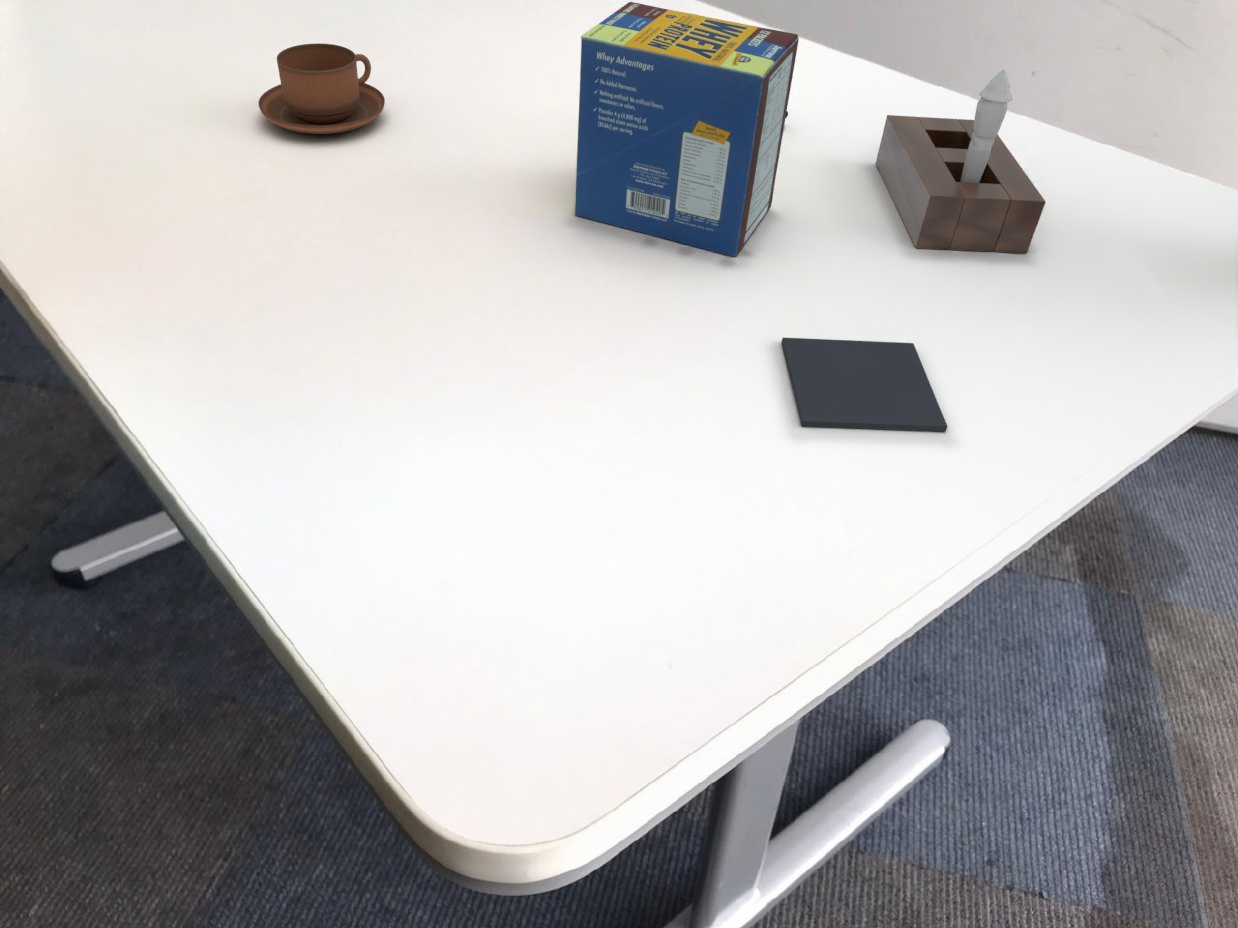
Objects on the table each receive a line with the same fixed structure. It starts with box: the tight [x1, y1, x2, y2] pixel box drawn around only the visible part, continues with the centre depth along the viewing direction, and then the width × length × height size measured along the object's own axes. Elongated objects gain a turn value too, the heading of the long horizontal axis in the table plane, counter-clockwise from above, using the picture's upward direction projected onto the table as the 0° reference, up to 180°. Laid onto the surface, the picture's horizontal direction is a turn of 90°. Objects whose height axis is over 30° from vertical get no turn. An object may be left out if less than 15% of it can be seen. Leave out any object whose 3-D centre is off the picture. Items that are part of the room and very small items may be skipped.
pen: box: [960, 69, 1013, 183], centre depth 88 cm, size 2×3×14 cm
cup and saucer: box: [258, 43, 386, 135], centre depth 99 cm, size 12×12×6 cm
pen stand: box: [875, 114, 1046, 254], centre depth 94 cm, size 10×17×5 cm, turn 1°
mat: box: [781, 337, 948, 433], centre depth 73 cm, size 10×10×1 cm
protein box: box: [573, 1, 800, 257], centre depth 86 cm, size 10×15×16 cm
